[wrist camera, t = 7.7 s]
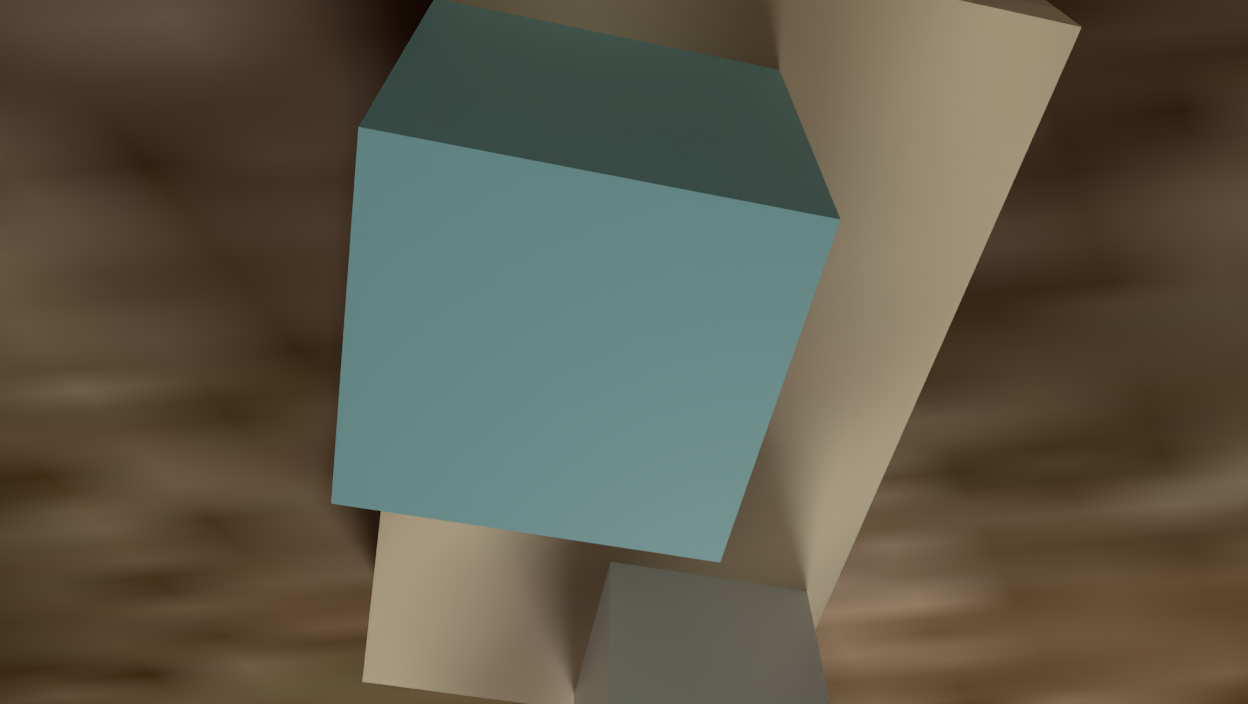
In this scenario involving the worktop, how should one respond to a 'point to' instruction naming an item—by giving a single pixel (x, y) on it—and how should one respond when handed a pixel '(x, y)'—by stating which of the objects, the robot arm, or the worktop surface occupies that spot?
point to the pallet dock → (829, 341)
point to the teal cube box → (572, 283)
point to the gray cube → (699, 642)
